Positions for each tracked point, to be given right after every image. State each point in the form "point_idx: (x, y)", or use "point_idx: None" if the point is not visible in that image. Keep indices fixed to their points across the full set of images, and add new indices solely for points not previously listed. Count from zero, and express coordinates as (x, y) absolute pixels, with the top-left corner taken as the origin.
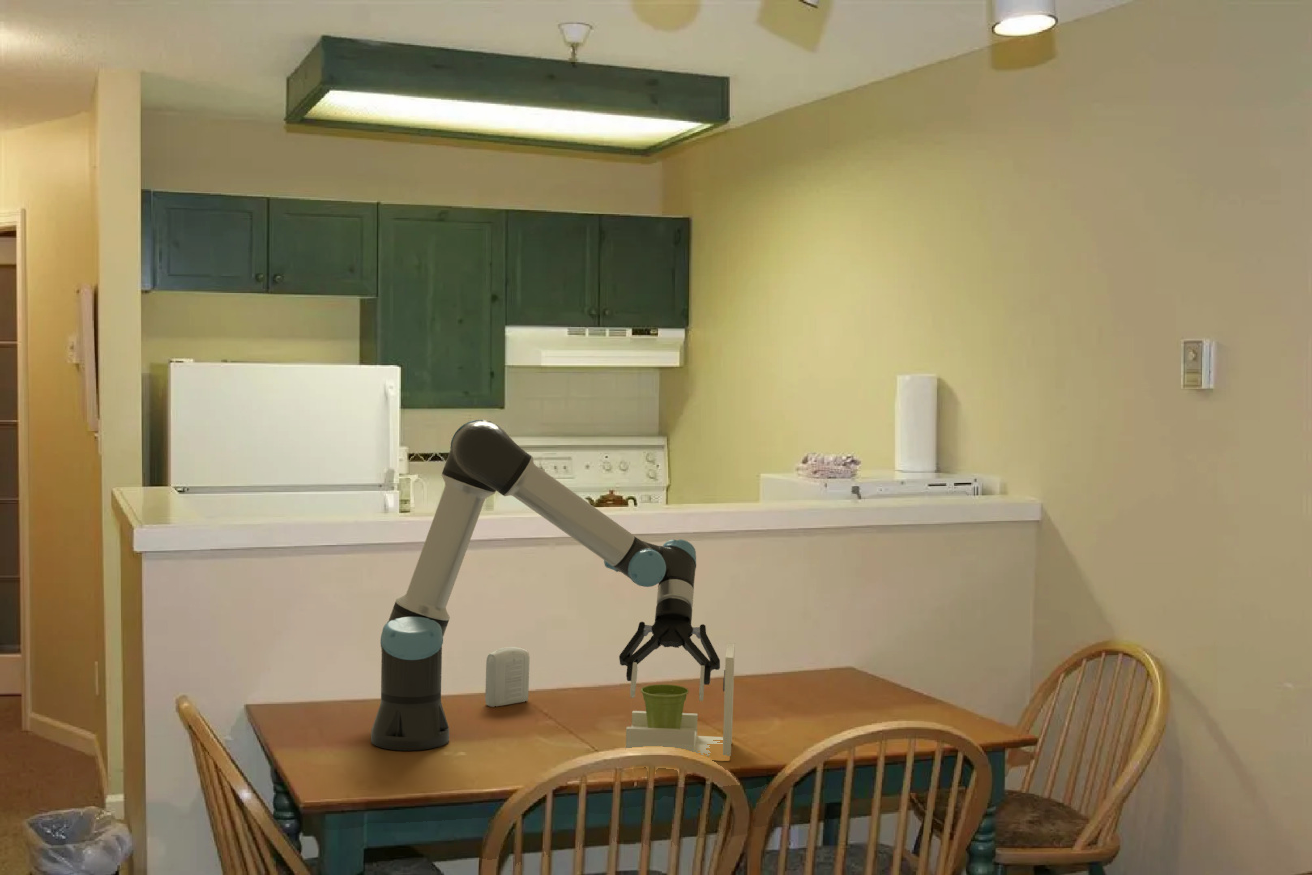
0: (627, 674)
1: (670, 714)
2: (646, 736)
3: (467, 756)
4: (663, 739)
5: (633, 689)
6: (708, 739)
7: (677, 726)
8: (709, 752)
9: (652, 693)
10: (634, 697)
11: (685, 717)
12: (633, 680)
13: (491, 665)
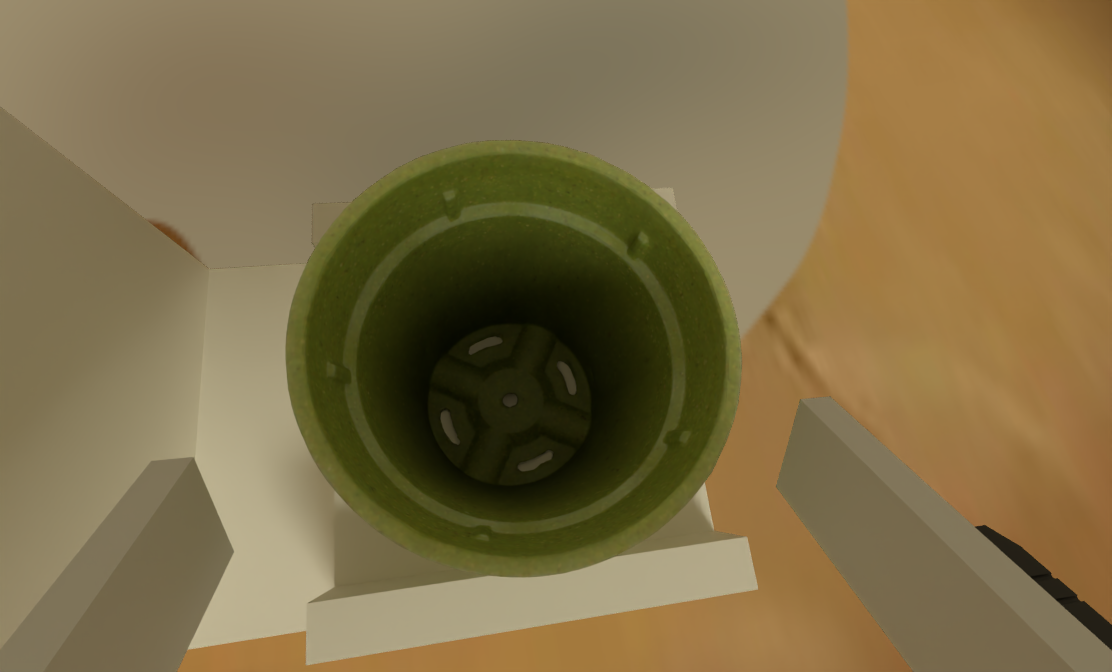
0: (1015, 555)
1: (458, 269)
2: None
3: (1102, 153)
4: None
5: (809, 406)
6: (281, 562)
7: (426, 348)
8: (274, 316)
9: (650, 473)
10: (777, 485)
11: (397, 585)
12: (881, 463)
13: None
